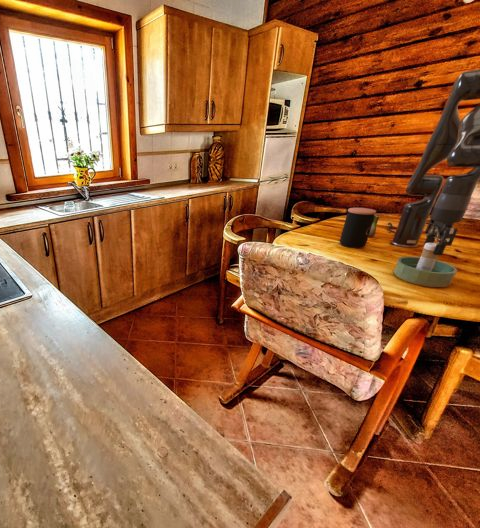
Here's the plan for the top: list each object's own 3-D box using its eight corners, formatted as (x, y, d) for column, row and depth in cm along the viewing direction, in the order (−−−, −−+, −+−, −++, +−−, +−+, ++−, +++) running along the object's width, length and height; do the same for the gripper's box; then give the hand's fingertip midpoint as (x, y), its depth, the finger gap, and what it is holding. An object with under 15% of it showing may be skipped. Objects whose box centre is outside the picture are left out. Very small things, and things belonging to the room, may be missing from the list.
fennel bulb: (361, 234, 154) (367, 213, 149) (372, 235, 152) (379, 213, 147) (364, 237, 149) (370, 215, 144) (375, 238, 147) (382, 216, 142)
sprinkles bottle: (430, 277, 105) (445, 244, 100) (426, 281, 103) (441, 247, 98) (414, 273, 109) (427, 241, 103) (410, 276, 107) (423, 244, 101)
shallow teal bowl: (387, 267, 116) (392, 254, 113) (439, 273, 109) (445, 259, 107) (400, 284, 103) (405, 269, 101) (458, 291, 96) (466, 276, 94)
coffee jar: (366, 250, 134) (378, 213, 126) (339, 246, 139) (349, 211, 132) (363, 243, 142) (374, 208, 135) (338, 240, 147) (347, 207, 140)
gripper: (477, 212, 88) (455, 259, 94) (455, 203, 99) (437, 245, 106) (444, 210, 91) (425, 256, 97) (427, 202, 102) (411, 243, 109)
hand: (431, 250), depth 101 cm, fingers open, 8 cm apart
